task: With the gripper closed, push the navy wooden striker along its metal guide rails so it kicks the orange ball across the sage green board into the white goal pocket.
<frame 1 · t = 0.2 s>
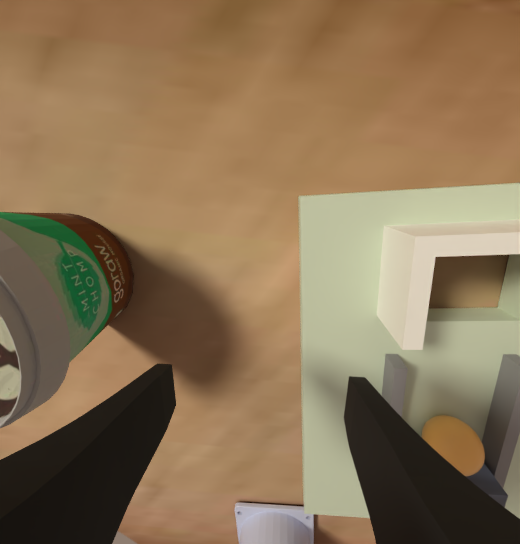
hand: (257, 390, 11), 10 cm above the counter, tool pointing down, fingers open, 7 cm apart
goal: (462, 278, 16), resting on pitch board
food container: (107, 259, 21), on the counter
striker: (450, 500, 18), point 5 cm above the counter, slide at 0.0 cm
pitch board: (428, 371, 21), on the counter
ball: (451, 444, 18), point 4 cm above the counter, touching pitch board
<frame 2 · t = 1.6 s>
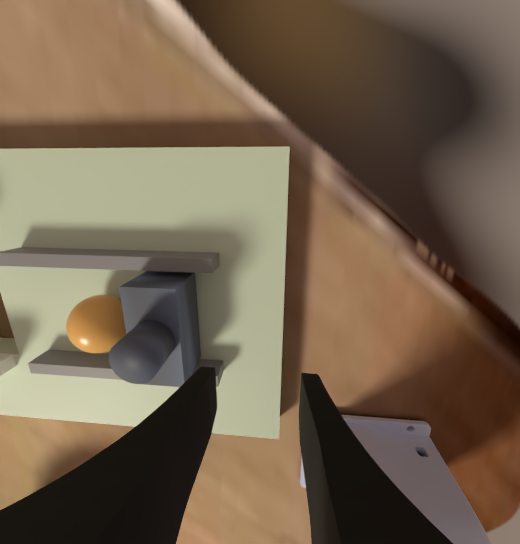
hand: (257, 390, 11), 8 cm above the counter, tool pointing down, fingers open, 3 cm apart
striker: (157, 335, 15), point 5 cm above the counter, slide at 0.0 cm
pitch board: (97, 297, 20), on the counter
ball: (101, 323, 16), point 4 cm above the counter, touching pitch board
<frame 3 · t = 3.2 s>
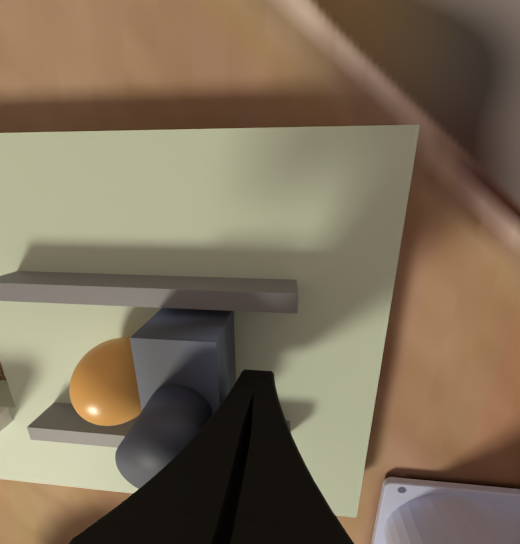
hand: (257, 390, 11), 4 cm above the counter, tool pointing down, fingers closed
striker: (185, 401, 10), point 5 cm above the counter, slide at 1.2 cm, touching gripper
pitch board: (117, 332, 15), on the counter
ball: (119, 378, 11), point 4 cm above the counter, tilted 13°, touching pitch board
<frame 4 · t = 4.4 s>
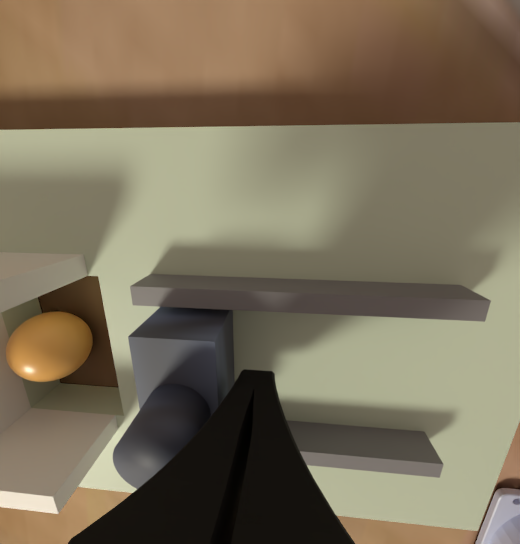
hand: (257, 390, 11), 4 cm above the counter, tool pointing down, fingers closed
goal: (56, 348, 13), resting on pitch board
striker: (183, 400, 10), point 5 cm above the counter, slide at 7.8 cm, touching gripper
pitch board: (228, 337, 14), on the counter
ball: (52, 345, 13), point 2 cm above the counter, tilted 49°
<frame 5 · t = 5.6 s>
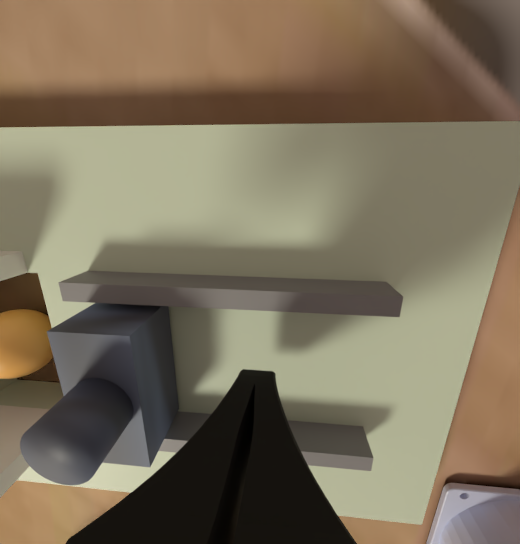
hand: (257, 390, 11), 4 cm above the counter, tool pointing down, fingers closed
goal: (2, 344, 13), resting on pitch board
striker: (111, 394, 10), point 5 cm above the counter, slide at 7.8 cm
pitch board: (177, 333, 15), on the counter
ball: (18, 342, 14), point 2 cm above the counter, tilted 15°
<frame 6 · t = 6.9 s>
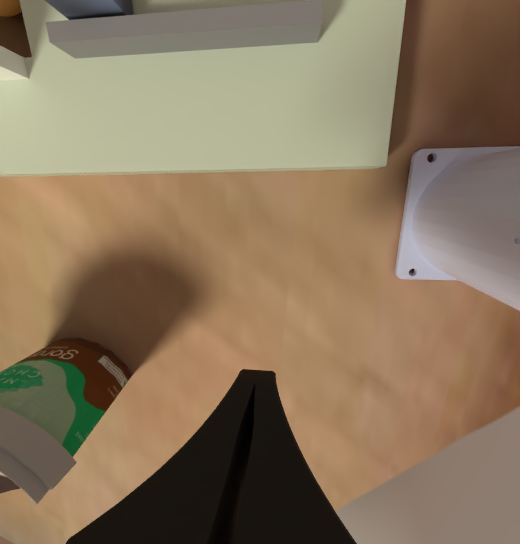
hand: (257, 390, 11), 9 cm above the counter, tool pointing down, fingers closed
food container: (73, 356, 23), on the counter
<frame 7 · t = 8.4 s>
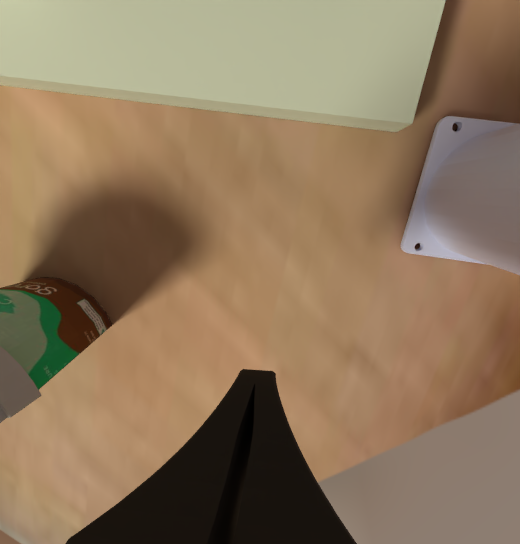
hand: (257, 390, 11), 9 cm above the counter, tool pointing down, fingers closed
food container: (50, 298, 21), on the counter
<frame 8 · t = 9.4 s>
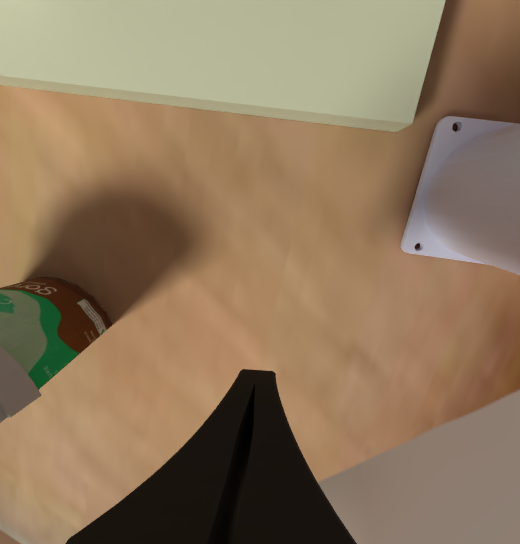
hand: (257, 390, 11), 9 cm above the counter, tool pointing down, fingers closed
food container: (50, 298, 21), on the counter
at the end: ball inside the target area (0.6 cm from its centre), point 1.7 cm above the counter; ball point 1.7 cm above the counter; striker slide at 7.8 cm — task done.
